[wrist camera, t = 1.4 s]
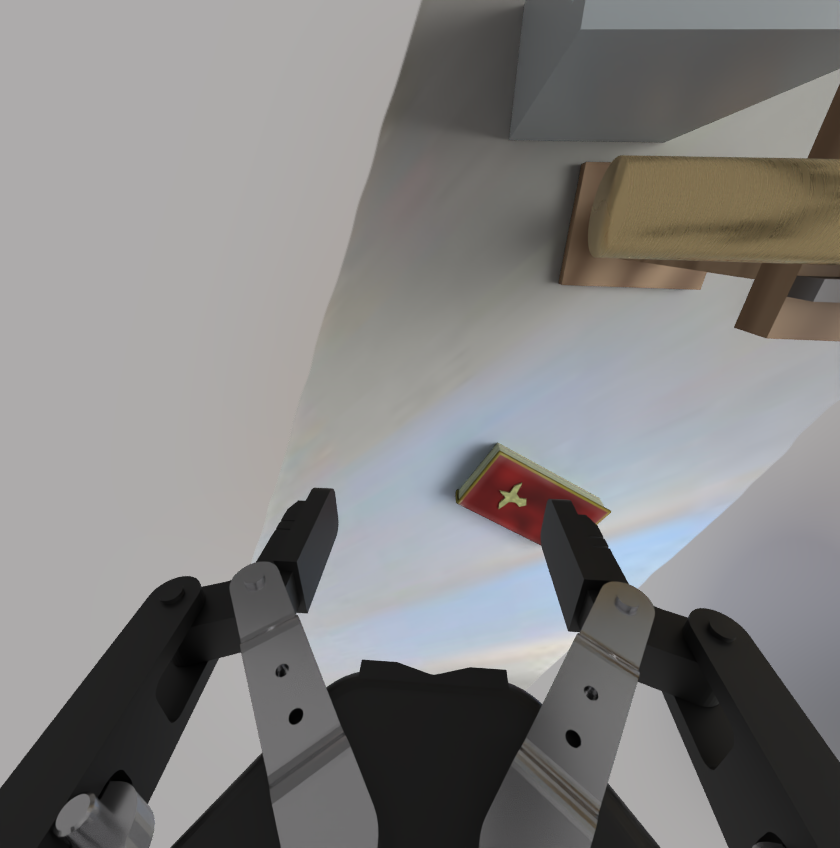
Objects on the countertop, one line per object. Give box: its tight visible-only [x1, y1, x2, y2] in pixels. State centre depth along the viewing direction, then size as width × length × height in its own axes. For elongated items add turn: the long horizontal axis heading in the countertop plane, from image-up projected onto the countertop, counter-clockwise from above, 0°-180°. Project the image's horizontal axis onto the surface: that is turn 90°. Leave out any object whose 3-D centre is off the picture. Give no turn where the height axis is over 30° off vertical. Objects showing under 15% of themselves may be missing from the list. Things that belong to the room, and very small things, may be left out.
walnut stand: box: [559, 85, 840, 341], centre depth 26 cm, size 16×12×33 cm
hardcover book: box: [456, 443, 611, 545], centre depth 58 cm, size 12×21×4 cm, turn 61°
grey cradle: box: [509, 0, 840, 142], centre depth 25 cm, size 16×10×24 cm, turn 89°
